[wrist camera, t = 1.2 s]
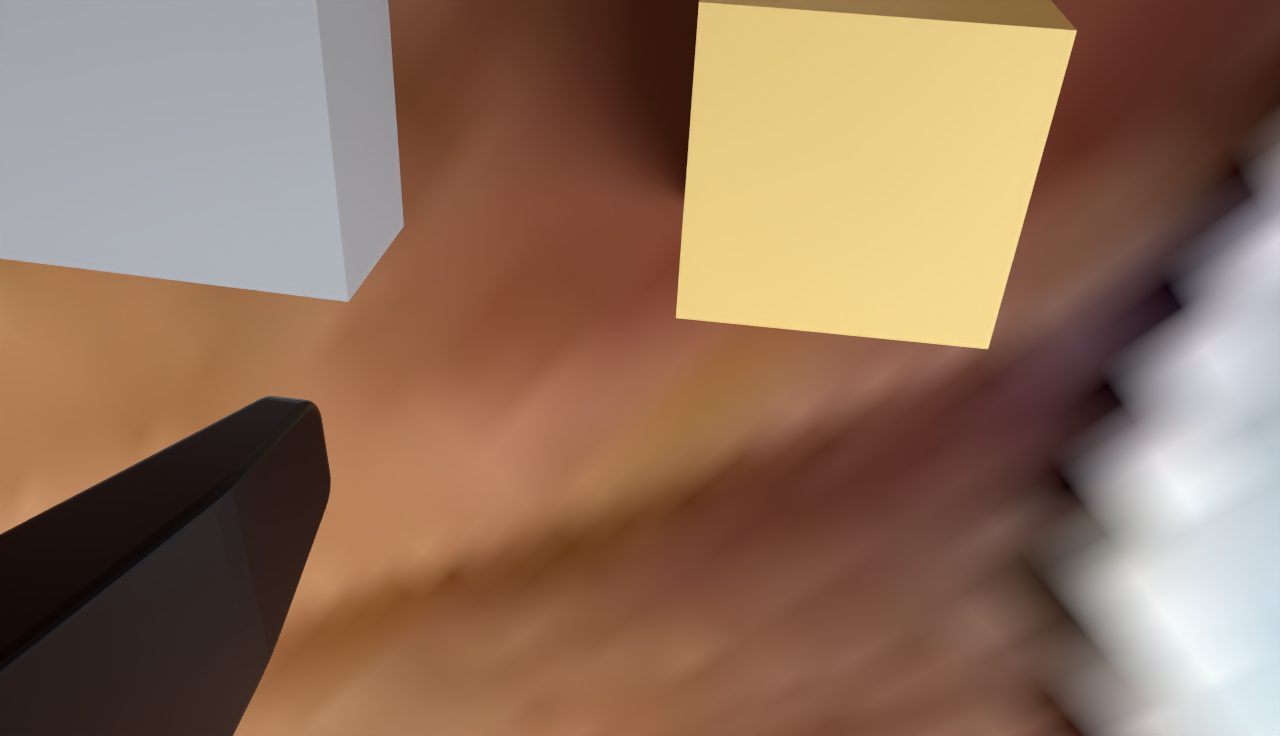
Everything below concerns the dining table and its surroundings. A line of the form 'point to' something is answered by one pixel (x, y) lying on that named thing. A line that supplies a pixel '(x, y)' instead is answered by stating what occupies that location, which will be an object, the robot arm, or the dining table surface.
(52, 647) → the robot arm
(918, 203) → the mustard block
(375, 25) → the base block
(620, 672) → the dining table surface
